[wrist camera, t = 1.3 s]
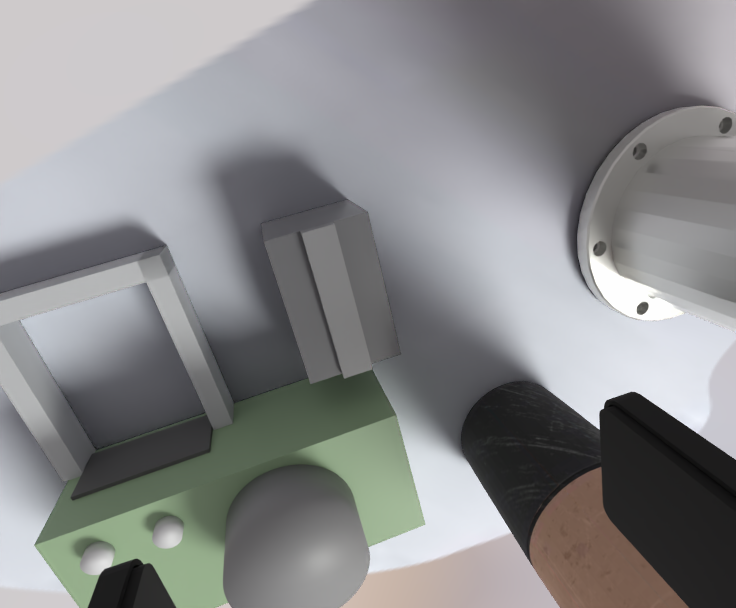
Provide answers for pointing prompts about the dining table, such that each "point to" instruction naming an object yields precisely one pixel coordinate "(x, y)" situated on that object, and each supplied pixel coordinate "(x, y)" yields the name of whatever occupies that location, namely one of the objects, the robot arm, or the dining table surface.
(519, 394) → the travel mug
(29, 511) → the dining table surface
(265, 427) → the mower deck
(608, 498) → the robot arm
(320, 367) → the ridged grey block
